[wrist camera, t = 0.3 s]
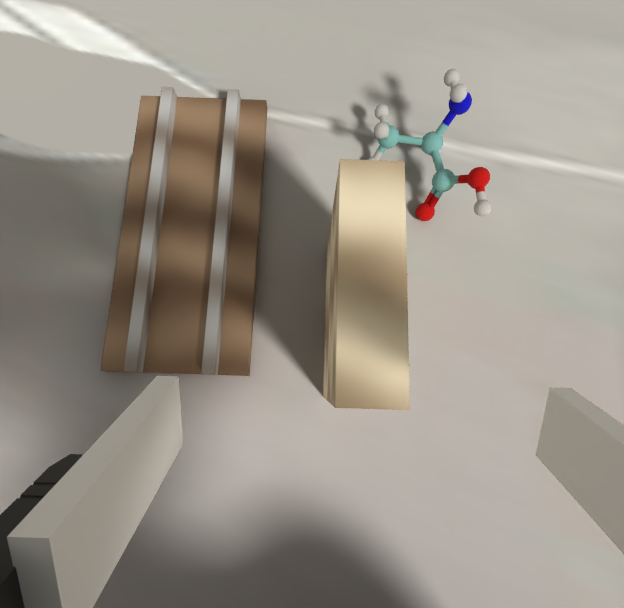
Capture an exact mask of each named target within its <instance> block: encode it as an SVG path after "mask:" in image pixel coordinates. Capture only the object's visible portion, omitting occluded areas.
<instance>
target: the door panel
mask: <svg viewBox="0 0 624 608" xmlns="http://www.w3.org/2000/svg"><path fill="white" fill-rule="evenodd" d="M323 397H324V398H325V399H326V400H327V401H329V402H330V403H331V404H332V405H333V406H334V407H335V408H361V409H391V410H410V399H409V350H408V301H407V252H406V204H405V161H379V160H352V159H340V163H339V170H338V177H337V184H336V191H335V198H334V205H333V211H332V218H331V225H330V232H329V239H328V246H327V267H326V306H325V344H324V382H323Z"/></svg>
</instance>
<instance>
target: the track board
mask: <svg viewBox="0 0 624 608" xmlns="http://www.w3.org/2000/svg"><path fill="white" fill-rule="evenodd" d="M266 121H267V102H266V100H243V99H241V98H240V94H239V90H230V89H228V92H227V99H216V98H189V97H177V95H176V93H175V91H174V89H173V88H172V87H162V91H161V96H141V101H140V108H139V114H138V122H137V128H136V135H135V141H134V148H133V155H132V162H131V168H130V175H129V182H128V189H127V195H126V202H125V209H124V216H123V222H122V229H121V236H120V242H119V249H118V256H117V263H116V269H115V276H114V283H113V290H112V296H111V303H110V310H109V317H108V323H107V330H106V337H105V344H104V350H103V357H102V364H101V371H122V372H151V373H181V374H210V375H240V376H250V362H251V347H252V332H253V317H254V302H255V286H256V271H257V256H258V241H259V226H260V211H261V196H262V181H263V166H264V151H265V136H266Z"/></svg>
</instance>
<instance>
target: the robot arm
mask: <svg viewBox="0 0 624 608" xmlns="http://www.w3.org/2000/svg"><path fill="white" fill-rule="evenodd" d="M182 446H183V432H182V417H181V402H180V387H179V376H156V377H155V378H154V380H153V381H152V382H151V383H150V384H149V385H148V386H147V387H146V388H145V389H144V390H143V391H142V392H141V393H140V395H139V396H138V397H137V398H136V399H135V400H134V401H133V402H132V403H131V404H130V405H129V406H128V407H127V409H126V410H125V411H124V412H123V413H122V414H121V415H120V416H119V417H118V418H117V419H116V420H115V421H114V422H113V424H112V425H111V426H110V427H109V428H108V429H107V430H106V431H105V432H104V433H103V434H102V435H101V436H100V437H99V439H98V440H97V441H96V442H95V443H94V444H93V445H92V446H91V447H90V448H89V449H88V450H87V451H86V452H85V454H84V455H76V454H70V455H68V456H67V457H65V458H63V459H62V460H60V461H58V462H57V463H55V464H53V465H52V466H50V467H49V468H48V469H47V470H46V471H45V472H44V473H43V474H42V475H41V476H40V477H39V478H38V479H37V480H36V481H35V482H34V484H33V485H30V486H29V487H28V488H27V489H26V490H25V491H24V492H23V493H22V494H21V497H20V498H19V499H18V498H17V499H16V500H15V501H14V502H13V503H12V504H11V505H10V506H9V507H8V508H7V509H6V510H5V511H4V512H3V513H2V514H1V515H0V608H93V607H94V605H95V603H96V601H97V599H98V598H99V596H100V594H101V592H102V590H103V589H104V587H105V585H106V583H107V581H108V580H109V578H110V576H111V574H112V572H113V570H114V569H115V567H116V565H117V563H118V561H119V560H120V558H121V556H122V554H123V552H124V551H125V549H126V547H127V545H128V543H129V542H130V540H131V538H132V536H133V534H134V533H135V531H136V529H137V527H138V525H139V523H140V522H141V520H142V518H143V516H144V514H145V513H146V511H147V509H148V507H149V505H150V504H151V502H152V500H153V498H154V496H155V495H156V493H157V491H158V489H159V487H160V486H161V484H162V482H163V480H164V478H165V477H166V475H167V473H168V471H169V469H170V467H171V466H172V464H173V462H174V460H175V458H176V457H177V455H178V453H179V451H180V449H181V448H182ZM536 456H537V457H538V458H539V459H540V460H541V462H542V463H543V464H544V465H545V466H546V467H547V468H548V469H549V471H550V472H551V473H552V474H553V475H554V476H555V477H556V478H557V480H558V481H559V482H560V483H561V484H562V485H563V486H564V487H565V489H566V490H567V491H568V492H569V493H570V494H571V495H572V496H573V498H574V499H575V500H576V501H577V502H578V503H579V504H580V505H581V507H582V508H583V509H584V510H585V511H586V512H587V513H588V514H589V516H590V517H591V518H592V519H593V520H594V521H595V522H596V523H597V525H598V526H599V527H600V528H601V529H602V530H603V531H604V532H605V534H606V535H607V536H608V537H609V538H610V539H611V540H612V541H613V543H614V544H615V545H616V546H617V547H618V548H619V549H620V550H621V552H622V553H623V554H624V425H623V424H621V423H620V422H618V421H617V420H616V419H614V418H613V417H611V416H610V415H609V414H607V413H606V412H604V411H603V410H601V409H600V408H599V407H597V406H596V405H594V404H593V403H592V402H590V401H589V400H587V399H586V398H585V397H583V396H582V395H580V394H579V393H577V392H576V391H575V390H573V389H572V388H550V390H549V394H548V399H547V404H546V409H545V413H544V418H543V423H542V428H541V432H540V437H539V442H538V447H537V451H536Z"/></svg>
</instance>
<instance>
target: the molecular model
mask: <svg viewBox="0 0 624 608" xmlns="http://www.w3.org/2000/svg"><path fill="white" fill-rule="evenodd" d="M459 78H460V74H459V72H458V71H457V70H456V69H450V70H448V71H447V72H446V74H445V76H444V83H445V84H446V85H447V86H450V87H451V91H450V101H449V109H450V111H449V113H448V114H447V116H446V117H445V119H444V120H443V122H442V123H441V125H440V126H439V128H438V129H437V130H436V132H429V133H427V134H426V135H425V136H424V137H423V138H419V137H411V136H404V135H399V132H398V130H397V129H396V128H395V127H394V126H389V123H388V119H387V116H388V113H389V110H388V107H387V106H386V105H384V104H380V105H378V106H377V107H376V109H375V116H376V117H377V118H378V119H380V121H381V122H380V123H378V124H377V125H376V126H375V128H374V135H375V136H376V137H377V138H378V141H379V144H380V146H379V147H378V149H377V151H376V153H375V154H374V156H373V157H370V158H369V159H368V160H379V159H380V157H381V156H382V154H383V152H384V151H385V149H386V148H387V149H389V148H392V147H394V146H395V145H396V144H397V143H405V144H413V145H420V146H421V148H422V150H423V151H424V152H425V153H426V154H430V155H432V158H433V162H434V164H435V168H436V171H437V172H436V173H435V175H434V176H433V179H432V185H433V188H432V190H431V191H430V193H429V195H428V197H427V199H426V200H425V202H424V203H422V204H420V205H419V206H418V208H417V210H416V216H417V217H418V219H420V220H421V221H428V220H430V219H431V218H432V217H433V216H434V212H435V210H434V207H435V205H436V203H437V202H438V200H439V198H440V197H441V195H442V193H443V192H446V191H448V190H450V189H451V188H452V187H453V185H454V184H456V183H468V184H469V185H470V186H471V187H472V188H474V189H476V196H477V202H476V204H475V205H474V212H475V213H476V214H477V215H479V216H485V215H487V214H488V213H489V212H490V211H491V203H490V202H489V201H488V200H486V196H485V188H484V187H485V186H486V185H487V184H488V182H489V180H490V173H489V171H488V170H487V169H486V168H483V167H477V168H474V169H473V170H471V172H470V173H469V175H460V176H454V174H453V172H452V171H450V170H448V169H444V167H443V164H442V161H441V157H440V153H441V151H442V145H443V138H442V134H443V133H444V132H445V130H446V129H447V127H448V126H449V124H450V123H451V122H452V120H453V119H454V117H455V116H456V114H457V115H460V114H463V113H465V112H466V111H467V110H468V109H469V108H470V106H471V103H472V98H471V95H470V94H469V93H468V92H467V87H466V86H465V85H464V84H458V81H459Z"/></svg>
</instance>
